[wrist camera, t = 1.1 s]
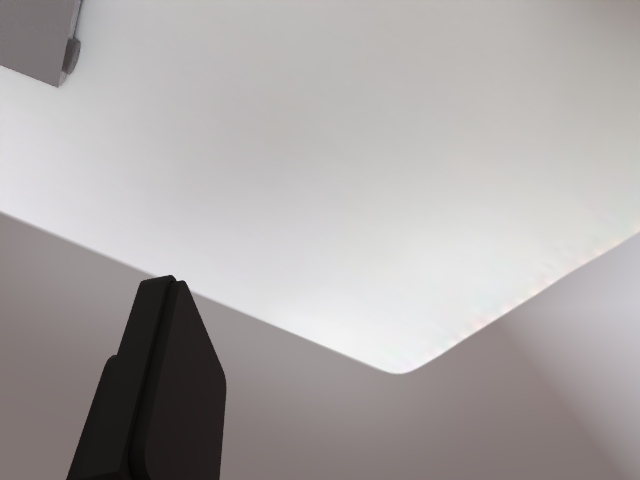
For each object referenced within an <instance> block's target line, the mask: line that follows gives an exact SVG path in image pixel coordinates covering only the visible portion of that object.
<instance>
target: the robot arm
mask: <svg viewBox="0 0 640 480" xmlns="http://www.w3.org/2000/svg"><path fill="white" fill-rule="evenodd" d="M225 401H226V379H225V374H224V371H223V369H222V367H221V364H220V362H219V360H218V357H217V355H216V352H215V350H214V347H213V345H212V343H211V340H210V338H209V336H208V333H207V331H206V328H205V326H204V324H203V321H202V319H201V316H200V314H199V312H198V309H197V307H196V305H195V302H194V300H193V297H192V295H191V293H190V290H189V288H188V286H187V284H186V282H185V281H183V280H182V281H176V279H175V278H174V276H172V275H168V276H163V277H158V278H152V279H147V280H143V281H141V283H140V285H139V288H138V291H137V294H136V297H135V300H134V304H133V306H132V310H131V313H130V316H129V319H128V322H127V325H126V328H125V331H124V334H123V338H122V341H121V344H120V347H119V350H118V353H117V355H113V356H111V357H110V358H109V359H108V360H107V363H106V365H105V367H104V370H103V372H102V376H101V378H100V381H99V384H98V387H97V390H96V393H95V396H94V399H93V402H92V405H91V408H90V411H89V414H88V417H87V420H86V423H85V425H84V429H83V431H82V434H81V437H80V440H79V443H78V446H77V449H76V452H75V455H74V458H73V461H72V464H71V467H70V470H69V473H68V476H67V479H66V480H219V478H220V466H221V452H222V439H223V426H224V414H225V413H224V412H225Z"/></svg>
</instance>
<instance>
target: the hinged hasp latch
mask: <svg viewBox="0 0 640 480" xmlns="http://www.w3.org/2000/svg"><path fill="white" fill-rule="evenodd" d="M80 2H81V0H0V65H2V66H4V67H7V68H9V69H12V70H14V71H17V72H20V73H22V74H25V75H27V76H30V77H32V78H35V79H37V80H40V81H43V82H45V83H48V84H50V85H53V86H55V87H59V86H60V85H61V84H62V83H63V82H64V79H65V74H70V73H71V72H72V71H73V69H74V67H75V65H76V63H77V60H78V56H79V52H80V41H78V40H76V39H73V36H74V31H75V26H76V21H77V16H78V12H79V7H80Z"/></svg>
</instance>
